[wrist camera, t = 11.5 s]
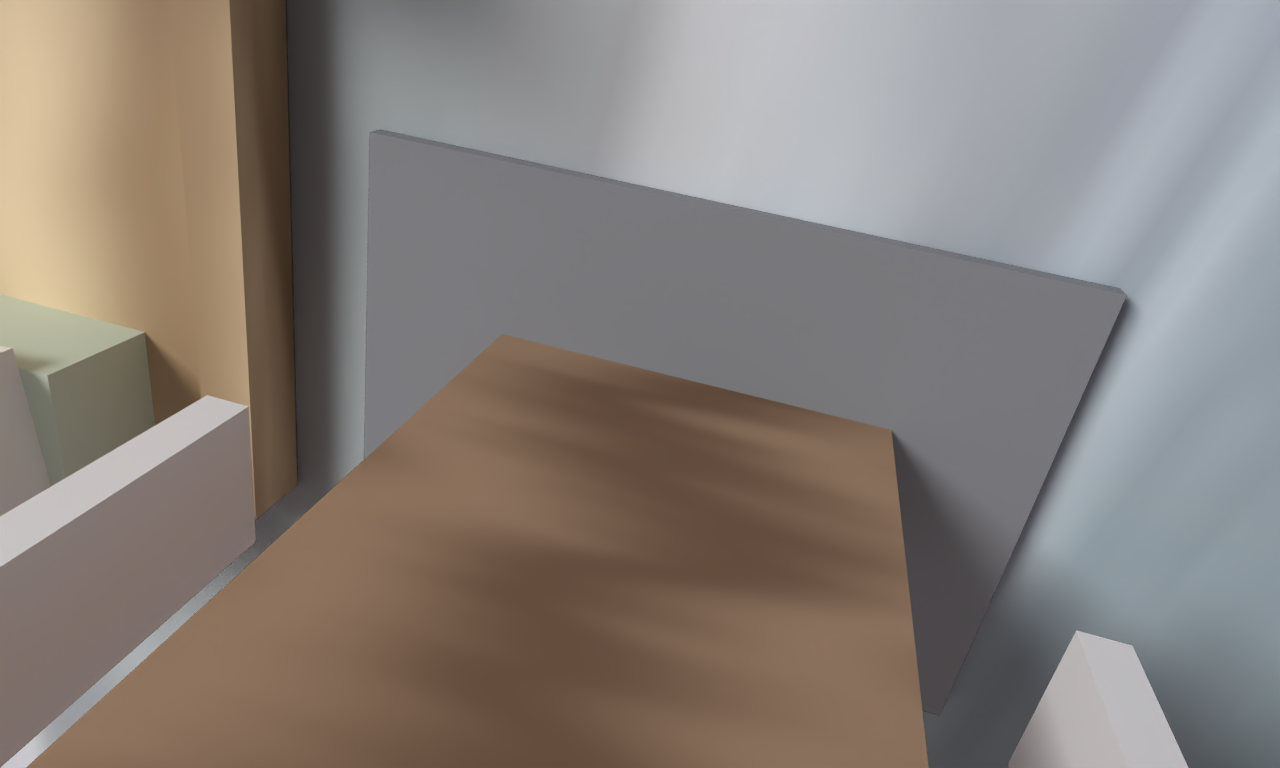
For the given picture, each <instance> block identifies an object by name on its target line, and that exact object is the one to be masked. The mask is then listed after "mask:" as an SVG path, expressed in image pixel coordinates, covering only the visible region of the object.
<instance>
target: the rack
mask: <svg viewBox="0 0 1280 768" xmlns="http://www.w3.org/2000/svg"><path fill="white" fill-rule="evenodd" d="M0 294H1V295H5V296H9V297H13V298H17V299H20V300H24V301H28V302H32V303H36V304H39V305H43V306H47V307H51V308H55V309H58V310H62V311H66V312H70V313H74V314H78V315H81V316H85V317H89V318H93V319H97V320H100V321H104V322H108V323H112V324H116V325H120V326H123V327H127V328H131V329H135V330H139V331H142V332H145V338H146V348H147V357H148V366H149V375H150V384H151V393H152V402H153V411H154V420H155V425H157V424H159V423H160V422H162V421H164V420H165V419H167V418H169V417H171V416H172V415H174V414H176V413H177V412H179V411H181V410H183V409H184V408H186V407H188V406H189V405H191V404H193V403H194V402H196V401H198V400H200V399H201V398H203V397H205V396H206V395H208V396H212V397H216V398H219V399H223V400H227V401H230V402H234V403H238V404H241V405H245V406H249V423H250V442H251V461H252V481H253V500H254V519H255V520H257V519H258V518H259V517H260V516H261V515H263V514H264V513H265V512H266V511H267V510H268V509H270V508H271V507H272V506H273V505H274V504H276V503H277V502H278V501H279V500H280V499H281V498H283V497H284V496H285V495H286V494H287V493H289V492H290V491H291V490H292V489H293V488H294V487H296V486H297V448H296V406H295V365H294V324H293V283H292V242H291V201H290V160H289V119H288V78H287V37H286V0H0Z"/></svg>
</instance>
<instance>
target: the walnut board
mask: <svg viewBox="0 0 1280 768" xmlns="http://www.w3.org/2000/svg"><path fill="white" fill-rule="evenodd" d="M26 768H929V766H928V757H927V748H926V739H925V730H924V721H923V712H922V703H921V694H920V684H919V675H918V666H917V657H916V648H915V639H914V630H913V621H912V612H911V603H910V594H909V585H908V576H907V567H906V558H905V549H904V540H903V530H902V521H901V512H900V503H899V494H898V485H897V476H896V467H895V458H894V449H893V440H892V431H891V430H889V429H885V428H881V427H877V426H873V425H869V424H865V423H861V422H857V421H853V420H849V419H845V418H841V417H837V416H833V415H829V414H824V413H820V412H816V411H812V410H808V409H804V408H800V407H796V406H792V405H788V404H784V403H780V402H776V401H772V400H768V399H764V398H759V397H755V396H751V395H747V394H743V393H739V392H735V391H731V390H727V389H723V388H719V387H715V386H711V385H707V384H703V383H699V382H695V381H690V380H686V379H682V378H678V377H674V376H670V375H666V374H662V373H658V372H654V371H650V370H646V369H642V368H638V367H634V366H630V365H625V364H621V363H617V362H613V361H609V360H605V359H601V358H597V357H593V356H589V355H585V354H581V353H577V352H573V351H569V350H565V349H561V348H556V347H552V346H548V345H544V344H540V343H536V342H532V341H528V340H524V339H520V338H516V337H512V336H508V335H504V334H501V335H500V336H499V337H498V338H497V339H496V340H495V341H494V342H493V343H492V344H490V345H489V346H488V347H487V348H486V349H485V350H484V351H483V352H482V353H481V354H479V355H478V356H477V357H476V358H475V359H474V360H473V361H472V362H471V363H470V364H468V365H467V366H466V367H465V368H464V369H463V370H462V371H461V372H460V373H459V374H458V375H456V376H455V377H454V378H453V379H452V380H451V381H450V382H449V383H448V384H447V385H445V386H444V387H443V388H442V389H441V390H440V391H439V392H438V393H437V394H436V395H434V396H433V397H432V398H431V399H430V400H429V401H428V402H427V403H426V404H425V405H423V406H422V407H421V408H420V409H419V410H418V411H417V412H416V413H415V414H414V415H413V416H411V417H410V418H409V419H408V420H407V421H406V422H405V423H404V424H403V425H402V426H400V427H399V428H398V429H397V430H396V431H395V432H394V433H393V434H392V435H391V436H389V437H388V438H387V439H386V440H385V441H384V442H383V443H382V444H381V445H380V446H379V447H377V448H376V449H375V450H374V451H373V452H372V453H371V454H370V455H369V456H368V457H366V458H365V459H364V460H363V461H362V462H361V463H360V464H359V465H358V466H357V467H355V468H354V469H353V470H352V471H351V472H350V473H349V474H348V475H347V476H346V477H345V478H343V479H342V480H341V481H340V482H339V483H338V484H337V485H336V486H335V487H334V488H332V489H331V490H330V491H329V492H328V493H327V494H326V495H325V496H324V497H323V498H321V499H320V500H319V501H318V502H317V503H316V504H315V505H314V506H313V507H312V508H311V509H309V510H308V511H307V512H306V513H305V514H304V515H303V516H302V517H301V518H300V519H298V520H297V521H296V522H295V523H294V524H293V525H292V526H291V527H290V528H289V529H287V530H286V531H285V532H284V533H283V534H282V535H281V536H280V537H279V538H278V539H277V540H275V541H274V542H273V543H272V544H271V545H270V546H269V547H268V548H267V549H266V550H264V551H263V552H262V553H261V554H260V555H259V556H258V557H257V558H256V559H255V560H253V561H252V562H251V563H250V564H249V565H248V566H247V567H246V568H245V569H244V570H243V571H241V572H240V573H239V574H238V575H237V576H236V577H235V578H234V579H233V580H232V581H230V582H229V583H228V584H227V585H226V586H225V587H224V588H223V589H222V590H221V591H219V592H218V593H217V594H216V595H215V596H214V597H213V598H212V599H211V600H210V601H209V602H207V603H206V604H205V605H204V606H203V607H202V608H201V609H200V610H199V611H198V612H196V613H195V614H194V615H193V616H192V617H191V618H190V619H189V620H188V621H187V622H185V623H184V624H183V625H182V626H181V627H180V628H179V629H178V630H177V631H176V632H175V633H173V634H172V635H171V636H170V637H169V638H168V639H167V640H166V641H165V642H164V643H162V644H161V645H160V646H159V647H158V648H157V649H156V650H155V651H154V652H153V653H151V654H150V655H149V656H148V657H147V658H146V659H145V660H144V661H143V662H142V663H141V664H139V665H138V666H137V667H136V668H135V669H134V670H133V671H132V672H131V673H130V674H128V675H127V676H126V677H125V678H124V679H123V680H122V681H121V682H120V683H119V684H117V685H116V686H115V687H114V688H113V689H112V690H111V691H110V692H109V693H108V694H107V695H105V696H104V697H103V698H102V699H101V700H100V701H99V702H98V703H97V704H96V705H94V706H93V707H92V708H91V709H90V710H89V711H88V712H87V713H86V714H85V715H83V716H82V717H81V718H80V719H79V720H78V721H77V722H76V723H75V724H74V725H73V726H71V727H70V728H69V729H68V730H67V731H66V732H65V733H64V734H63V735H62V736H60V737H59V738H58V739H57V740H56V741H55V742H54V743H53V744H52V745H51V746H49V747H48V748H47V749H46V750H45V751H44V752H43V753H42V754H41V755H40V756H38V757H37V758H36V759H35V760H34V761H33V762H32V763H31V764H30V765H29V766H28V767H26Z"/></svg>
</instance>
